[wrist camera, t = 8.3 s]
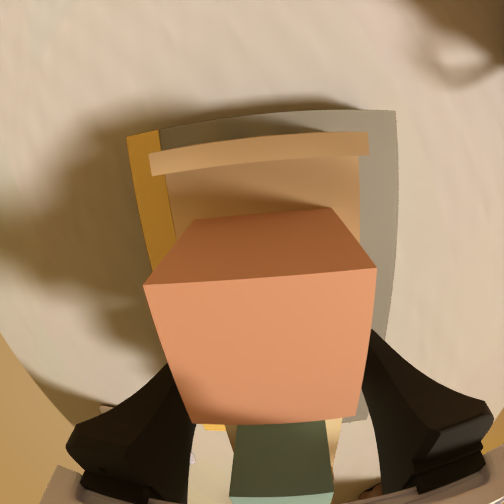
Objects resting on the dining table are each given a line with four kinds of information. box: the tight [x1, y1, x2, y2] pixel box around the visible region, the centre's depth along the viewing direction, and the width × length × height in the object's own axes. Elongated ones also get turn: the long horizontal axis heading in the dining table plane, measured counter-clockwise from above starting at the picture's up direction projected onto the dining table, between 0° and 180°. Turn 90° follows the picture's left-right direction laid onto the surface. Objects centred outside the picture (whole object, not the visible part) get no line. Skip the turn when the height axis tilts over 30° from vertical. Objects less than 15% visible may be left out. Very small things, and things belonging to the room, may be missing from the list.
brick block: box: [143, 208, 377, 425], centre depth 7 cm, size 4×4×4 cm
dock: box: [126, 110, 399, 431], centre depth 17 cm, size 20×12×3 cm, turn 6°
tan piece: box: [149, 132, 369, 482], centre depth 13 cm, size 18×6×6 cm, turn 6°
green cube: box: [229, 420, 334, 504], centre depth 11 cm, size 4×4×4 cm
